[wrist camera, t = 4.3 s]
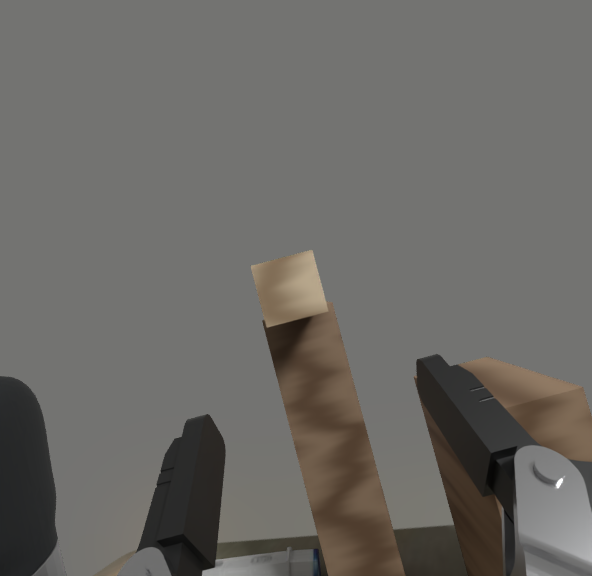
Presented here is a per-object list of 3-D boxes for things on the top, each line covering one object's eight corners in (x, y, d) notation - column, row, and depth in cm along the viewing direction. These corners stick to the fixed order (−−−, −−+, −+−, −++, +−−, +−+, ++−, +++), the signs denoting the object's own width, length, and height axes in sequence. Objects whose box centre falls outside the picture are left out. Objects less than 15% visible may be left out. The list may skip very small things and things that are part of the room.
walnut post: (363, 711, 23) (262, 320, 24) (341, 575, 34) (273, 313, 34) (436, 691, 23) (332, 302, 24) (390, 562, 34) (320, 300, 35)
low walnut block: (561, 736, 19) (472, 416, 20) (470, 585, 29) (413, 376, 30) (675, 705, 19) (583, 387, 20) (545, 565, 29) (487, 356, 30)
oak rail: (258, 329, 16) (238, 252, 16) (279, 311, 35) (270, 276, 35) (336, 309, 16) (315, 232, 16) (314, 302, 35) (305, 267, 35)
